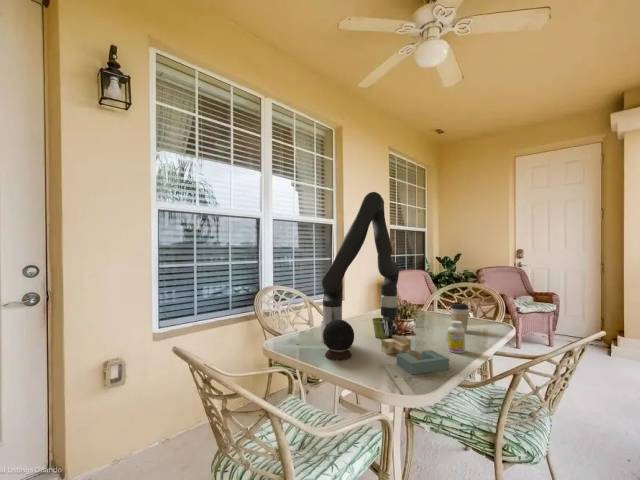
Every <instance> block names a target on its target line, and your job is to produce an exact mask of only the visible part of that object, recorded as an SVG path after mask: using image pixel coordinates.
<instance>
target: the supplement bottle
mask: <svg viewBox="0 0 640 480" xmlns="http://www.w3.org/2000/svg"><path fill="white" fill-rule="evenodd" d="M449 321H450V326H449V327H448V328H447V335H448V339H447V343H448V351H449V352H450V353H453V352H454V353H453V354H463V353H465V352H466V343H465V342H466V341H465V340H466V338H465V337H466V336H465V334H466V333H465V330H464V329H463V328H462V322H461V321H451V320H449Z"/></svg>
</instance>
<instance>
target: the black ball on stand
mask: <svg viewBox="0 0 640 480" xmlns="http://www.w3.org/2000/svg"><path fill="white" fill-rule="evenodd" d="M323 340H324V342H323V344H324V345H325V346H326V347H327V349H328V350H326V352H325V353H324V354H325V356H324V357H325V358H326V359H328V360H331V361H340V362H342V361H347V360H350V359H352V357H353V353H352V352H351V350H350V348H351V347H352V345H353V344H354V341H355V331H354V328H353V327H352V325H351V324H350V323H349V322H347V320H343V319H342V320H339V319H337V320H333V321H331V322H329V323H328V324H327V325H326V327H325V328H324V331H323Z"/></svg>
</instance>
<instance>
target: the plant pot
mask: <svg viewBox="0 0 640 480" xmlns="http://www.w3.org/2000/svg"><path fill="white" fill-rule="evenodd" d="M380 320H383V317H374V318H373V317H372V318H371V321H372V324H373V329H374V337H375V338H378V339H381V340H383V339H386V334H385V332H384V331H383V328H382V325H381V322H380Z"/></svg>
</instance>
